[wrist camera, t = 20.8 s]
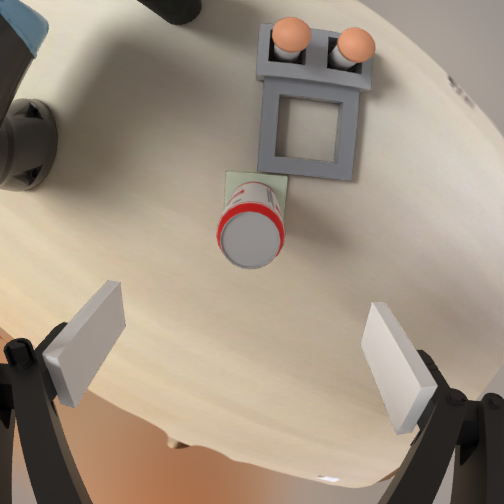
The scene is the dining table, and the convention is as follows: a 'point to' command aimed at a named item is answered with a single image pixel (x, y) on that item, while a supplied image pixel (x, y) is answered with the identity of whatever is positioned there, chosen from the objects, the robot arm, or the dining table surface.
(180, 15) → the cup
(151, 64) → the dining table surface
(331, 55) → the ball
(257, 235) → the beer can
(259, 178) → the coaster
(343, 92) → the grey rack with holes
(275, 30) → the plunger inner
